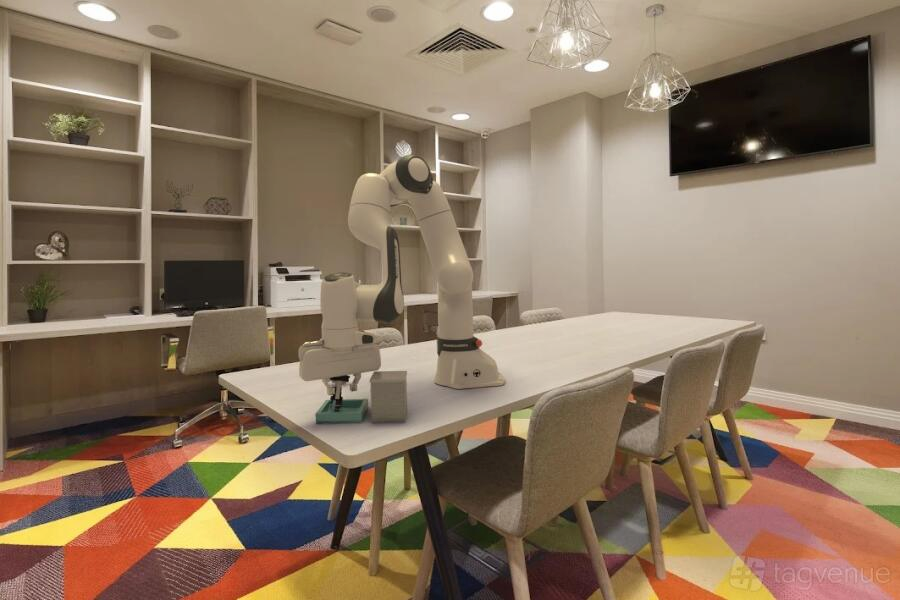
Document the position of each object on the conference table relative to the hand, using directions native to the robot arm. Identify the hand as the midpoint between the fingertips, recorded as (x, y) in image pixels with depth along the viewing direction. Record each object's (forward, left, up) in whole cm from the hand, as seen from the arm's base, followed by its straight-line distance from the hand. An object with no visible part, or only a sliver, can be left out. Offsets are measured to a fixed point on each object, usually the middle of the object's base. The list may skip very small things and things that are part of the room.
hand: (342, 392), depth 118 cm
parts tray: (0, 0, -6) cm, 6 cm away
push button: (+2, +2, -4) cm, 5 cm away
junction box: (-12, +2, -6) cm, 14 cm away
